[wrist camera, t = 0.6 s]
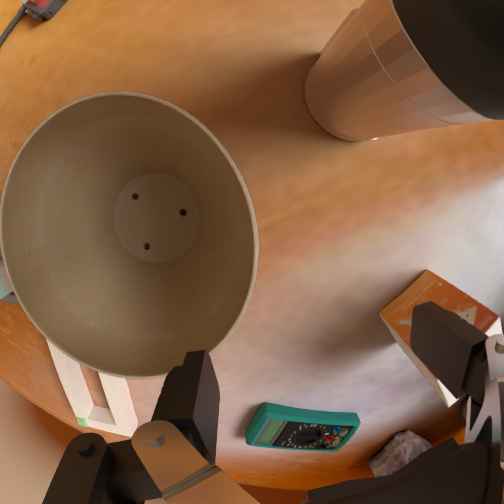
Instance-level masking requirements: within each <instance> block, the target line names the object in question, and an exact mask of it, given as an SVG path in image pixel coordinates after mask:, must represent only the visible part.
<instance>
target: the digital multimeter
mask: <svg viewBox="0 0 504 504" xmlns="http://www.w3.org/2000/svg"><path fill="white" fill-rule="evenodd" d="M360 423H361V422H360V420H359V418H358V415H357V413H338V412H324V411H313V410H306V409H298V408H292V407H286V406H281V405H276V404H270V403H264V404H262V405H261V407H260V408H259V410H258V411H257V412H256V414H255V415H254V417H253V419H252V421H251V422H250V425H249V427H248V429H247V431H246V444H248V445H252V446H258V447H268V448H279V449H291V450H306V451H327V452H335V451H337V450H339V449H340V448H341V447H342V446H343V445H344V444H345V443H346V442H347V441H348V440H350V438H351V437H352V436H353V435H354V433H355V432H356V430H357V429H358V427H359V425H360Z"/></svg>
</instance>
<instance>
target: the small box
mask: <svg viewBox="0 0 504 504" xmlns="http://www.w3.org/2000/svg"><path fill="white" fill-rule="evenodd" d="M428 301H433V302H434V303H436V304H437V305H439V306H440V307H442V308H443V309H446V310H449V311H452V312H454V313H456V314H457V315H459V316H460V317H462V319H465V320H466V321H468V323H471V324H472V325H473V326H475V327H476V328H478V329H479V330H481V331H482V332H483V333H485V334H486V335H488V336H489V337H490V336H492V335H495V334H502V327H501V321H500V317H499V316H498V315H497V314H495V313H494V312H492V311H491V310H490V309H488V308H487V307H485V306H484V305H482V304H481V303H479V302H478V301H477V300H475V299H474V298H472V297H470V296H469V295H467V294H466V293H464V292H463V291H461V290H460V289H458V288H457V287H455V286H454V285H452V284H451V283H449V282H447V281H446V280H444V279H443V278H441V277H439V276H438V275H436V274H434V273H433V272H431V271H429V270H428V269H427V270H425V271H424V273H423V274H422V275H421V276H420V277H419V278H418V279H417V280H416V281H415V282H413V283H412V284H411V285H410V286H409V287H408V288H407V289H406V290H405V291H404V292H402V293H401V294H400V295H399V296H398V297H397V298H396V299H394V300H393V301H392V302H391V303H390V304H388V305H387V306H386V307H385V308H384V309H382V310H381V311H380V312H379V315H380V317H381V318H382V320H383V321H384V323H385V324H386V326H387V327H388V329H389V331H390V332H391V334H392V335H393V337H394V338H395V340H396V342H397V343H398V345H399V346H400V347H401V348H402V350H403V351H404V352H405V353H406V355H407V356H408V357H409V358H410V359H411V361H412V362H413V363H414V364H415V366H416V367H417V368H418V369H419V370H420V372H421V373H422V374H423V375H424V377H425V378H426V379H427V381H428V382H429V383H430V384H431V386H432V387H433V388H434V389H435V391H436V392H437V393H438V395H439V396H440V397H441V399H442V400H443V401H444V403H445V404H446V405H447V407H450V406H451V405H452V404H454V403H455V402H456V401H457V400H458V399H456V398H455V397H454V396H453V395H452V394H451V393H450V392H449V391H448V389H447V388H446V387H445V386H444V385H443V384H442V383H441V382H440V381H439V380H438V378H437V377H436V376H435V375H434V374H433V373H432V372H431V371H430V370H429V369H428V368H427V367H426V366H425V364H424V363H423V362H422V361H421V360H420V359H419V358H418V357H417V356H416V355H415V354H414V353H413V351H412V348H411V345H410V335H411V323H412V311H413V308H414V306H415V305H418V304H421V303H424V302H428Z"/></svg>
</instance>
